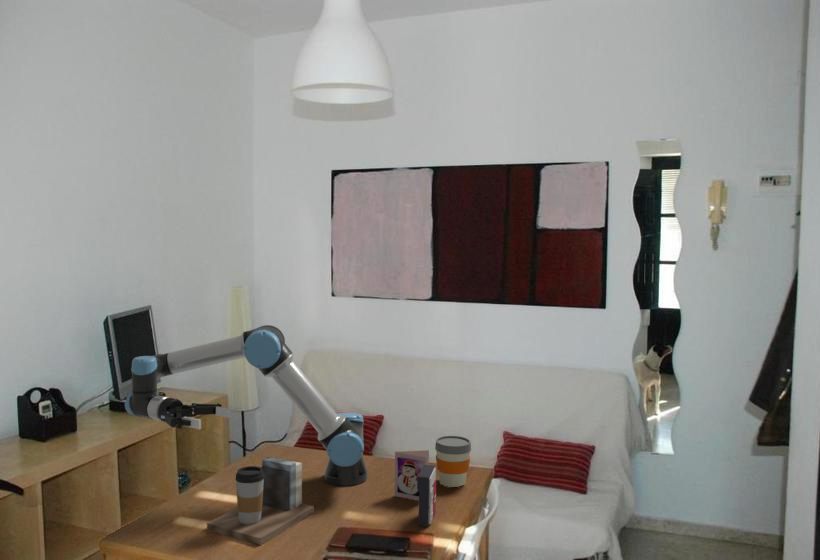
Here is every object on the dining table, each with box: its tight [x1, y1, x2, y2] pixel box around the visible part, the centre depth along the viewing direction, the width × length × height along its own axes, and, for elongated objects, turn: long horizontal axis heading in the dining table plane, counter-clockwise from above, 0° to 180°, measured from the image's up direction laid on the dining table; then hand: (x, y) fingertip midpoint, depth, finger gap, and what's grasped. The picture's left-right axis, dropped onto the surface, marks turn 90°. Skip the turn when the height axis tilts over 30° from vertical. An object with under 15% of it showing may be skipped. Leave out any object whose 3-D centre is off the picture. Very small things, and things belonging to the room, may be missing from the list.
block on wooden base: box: [206, 456, 315, 546], centre depth 200 cm, size 20×25×16 cm
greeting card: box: [393, 449, 430, 501], centre depth 221 cm, size 11×7×15 cm, turn 65°
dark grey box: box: [417, 464, 437, 527], centre depth 203 cm, size 11×4×15 cm, turn 168°
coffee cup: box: [234, 465, 265, 525], centre depth 196 cm, size 8×8×15 cm
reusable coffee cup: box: [434, 435, 472, 488], centre depth 233 cm, size 13×12×15 cm
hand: (216, 418), depth 202 cm, fingers open, 13 cm apart
